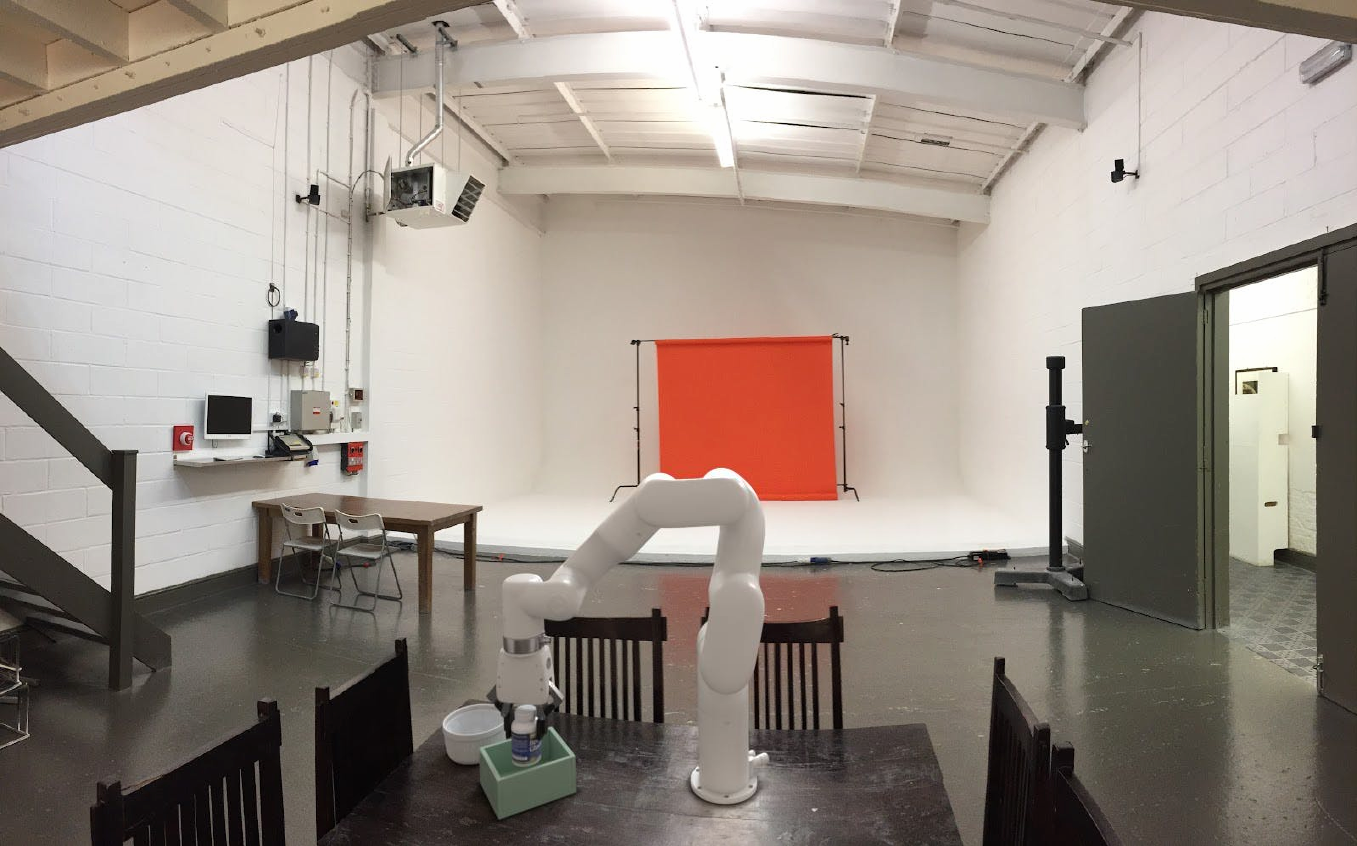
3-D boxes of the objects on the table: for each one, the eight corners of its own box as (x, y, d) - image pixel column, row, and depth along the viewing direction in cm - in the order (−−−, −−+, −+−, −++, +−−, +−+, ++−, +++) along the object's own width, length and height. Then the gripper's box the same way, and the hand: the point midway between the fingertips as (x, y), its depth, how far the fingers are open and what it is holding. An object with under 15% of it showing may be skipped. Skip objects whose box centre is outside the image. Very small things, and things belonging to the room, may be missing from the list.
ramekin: (513, 731, 144) (512, 700, 143) (504, 766, 131) (503, 732, 130) (451, 736, 142) (450, 705, 142) (436, 771, 129) (435, 737, 129)
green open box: (552, 759, 133) (551, 726, 132) (576, 792, 122) (575, 755, 122) (480, 782, 125) (479, 747, 125) (498, 819, 114) (497, 781, 114)
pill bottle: (534, 769, 120) (532, 717, 120) (506, 766, 121) (505, 715, 121) (545, 753, 125) (544, 703, 125) (519, 750, 126) (518, 701, 126)
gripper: (574, 636, 124) (576, 728, 125) (489, 631, 127) (491, 722, 128) (561, 652, 117) (563, 750, 118) (471, 647, 120) (474, 743, 121)
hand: (526, 734), depth 123 cm, fingers closed on pill bottle, 5 cm apart
